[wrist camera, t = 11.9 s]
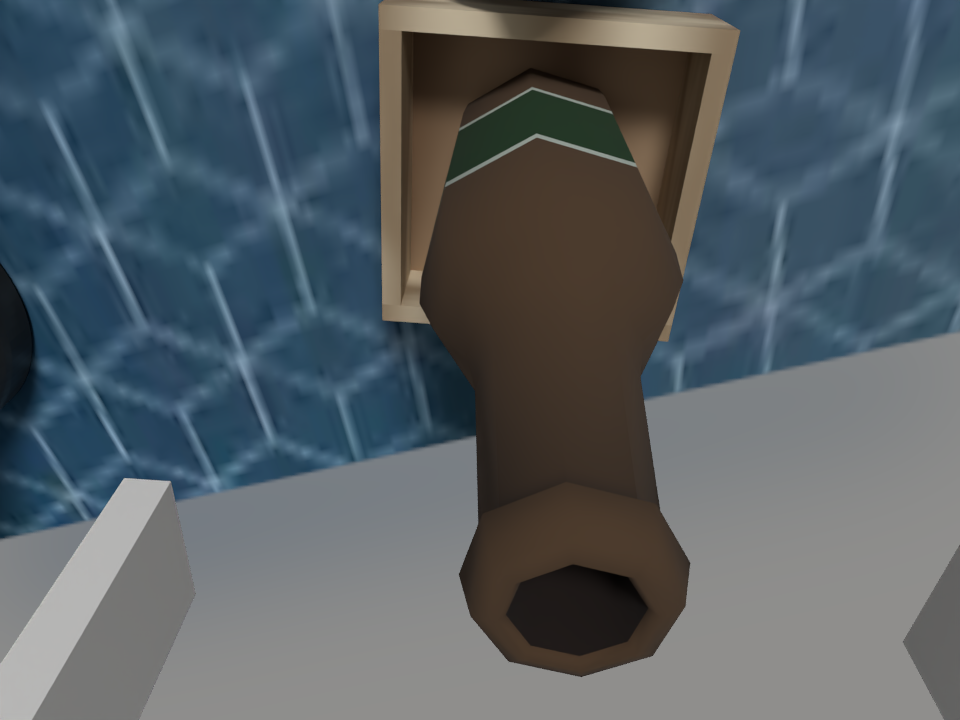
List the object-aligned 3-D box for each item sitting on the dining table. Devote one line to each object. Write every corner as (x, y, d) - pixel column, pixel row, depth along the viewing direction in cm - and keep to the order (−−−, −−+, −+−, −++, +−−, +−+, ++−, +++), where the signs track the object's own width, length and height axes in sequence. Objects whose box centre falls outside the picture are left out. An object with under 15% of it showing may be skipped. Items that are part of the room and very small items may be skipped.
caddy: (396, 276, 36) (382, 320, 32) (396, -9, 29) (378, 4, 25) (652, 295, 36) (667, 341, 32) (711, 13, 29) (740, 30, 25)
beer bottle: (629, 233, 33) (809, 755, 13) (460, 249, 34) (378, 765, 14) (627, 51, 29) (885, 396, 9) (435, 74, 30) (264, 440, 10)
